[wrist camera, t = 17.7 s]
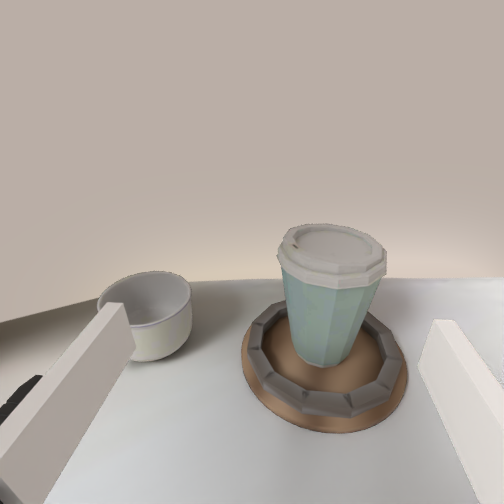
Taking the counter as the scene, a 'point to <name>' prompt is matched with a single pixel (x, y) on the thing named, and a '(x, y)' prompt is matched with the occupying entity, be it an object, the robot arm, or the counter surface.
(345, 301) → the disposable coffee cup
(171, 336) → the teacup
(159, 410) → the counter surface
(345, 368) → the ring board
